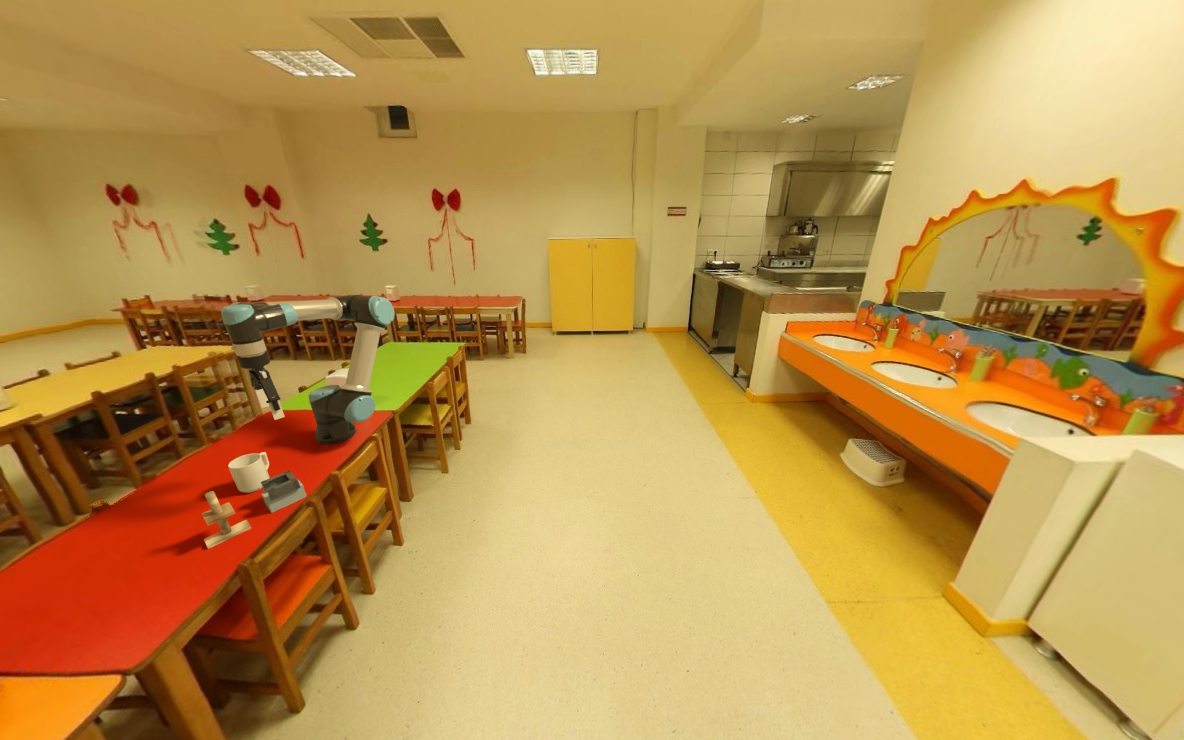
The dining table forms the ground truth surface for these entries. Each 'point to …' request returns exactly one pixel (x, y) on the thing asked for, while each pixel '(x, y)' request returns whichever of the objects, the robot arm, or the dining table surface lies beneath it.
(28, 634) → the dining table surface
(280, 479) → the c link
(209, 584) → the dining table surface
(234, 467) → the mug
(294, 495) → the block
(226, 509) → the stand
